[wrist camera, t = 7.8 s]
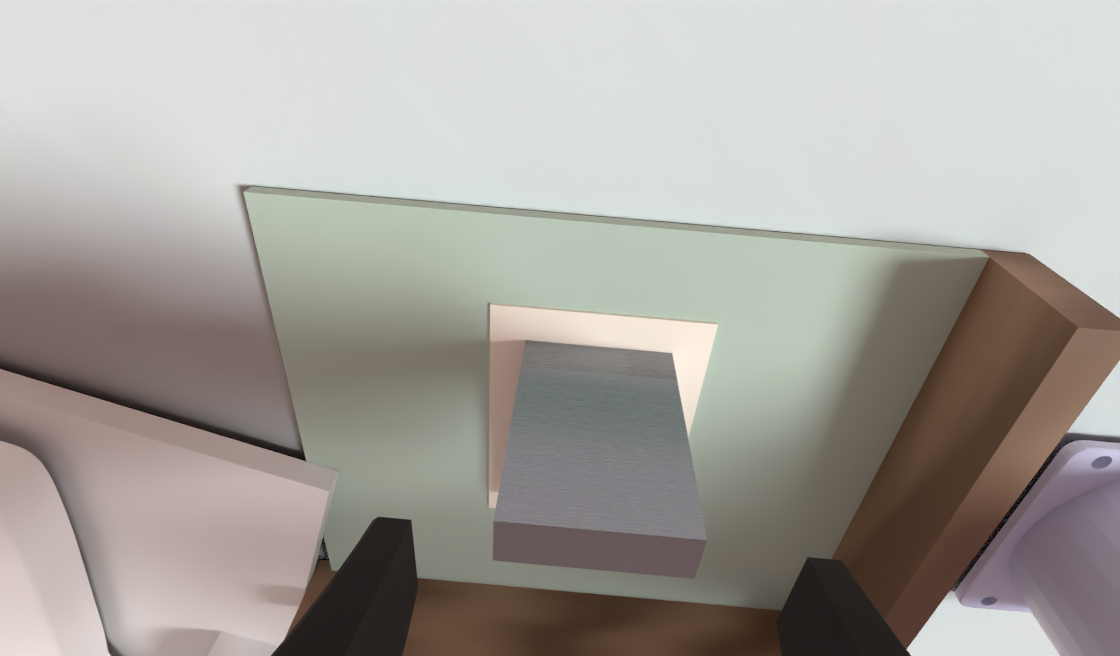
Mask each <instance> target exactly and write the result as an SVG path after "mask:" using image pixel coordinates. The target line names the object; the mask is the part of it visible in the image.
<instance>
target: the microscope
mask: <svg viewBox="0 0 1120 656" xmlns="http://www.w3.org/2000/svg"><path fill="white" fill-rule="evenodd" d="M338 475H339V471H336V470H333V469H330V468H327V467H323V466H320V465H317V464H313V463H310V462H307V461H303V460H300V459H297V458H293V457H290V456H287V455H283V454H280V453H277V452H274V451H270V450H267V449H264V448H260V447H257V446H254V445H250V444H247V443H244V442H240V441H237V440H234V439H231V438H227V437H224V436H221V435H217V434H214V433H211V432H207V431H204V430H201V429H197V428H194V427H191V426H187V425H184V424H181V423H178V422H174V421H171V420H168V419H164V418H161V417H158V416H154V415H151V414H148V413H144V412H141V411H138V410H134V409H131V408H128V407H125V406H121V405H118V404H115V403H111V402H108V401H105V400H101V399H98V398H95V397H91V396H88V395H85V394H82V393H78V392H75V391H72V390H68V389H65V388H62V387H58V386H55V385H52V384H48V383H45V382H42V381H38V380H35V379H32V378H29V377H25V376H22V375H19V374H15V373H12V372H9V371H5V370H2V369H0V656H271V655H272V653H273V652H274V651H275V650H276V649H277V648H278V646H279V645H280V644H281V643H282V642H283V641H284V639H285V637H286V634H287V632H288V630H289V628H290V625H291V623H292V621H293V619H294V617H295V614H296V612H297V610H298V608H299V605H300V603H301V601H302V599H303V596H304V594H305V592H306V590H307V588H308V585H309V583H310V581H311V579H312V576H313V574H314V571H315V567H316V563H317V559H318V555H319V551H320V547H321V543H322V539H323V535H324V531H325V527H326V523H327V519H328V515H329V511H330V507H331V503H332V499H333V495H334V491H335V487H336V483H337V479H338Z"/></svg>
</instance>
